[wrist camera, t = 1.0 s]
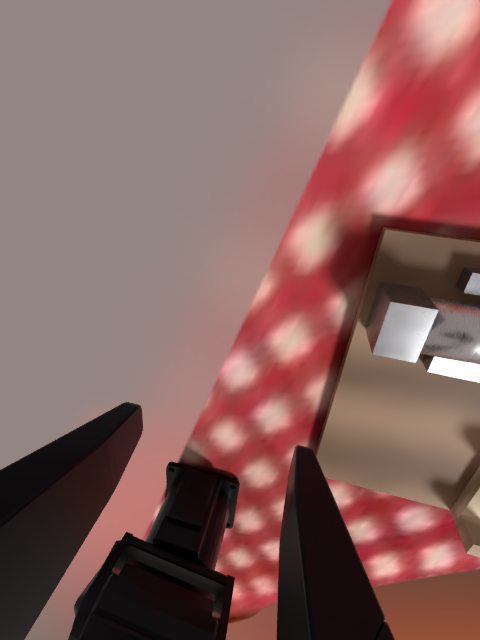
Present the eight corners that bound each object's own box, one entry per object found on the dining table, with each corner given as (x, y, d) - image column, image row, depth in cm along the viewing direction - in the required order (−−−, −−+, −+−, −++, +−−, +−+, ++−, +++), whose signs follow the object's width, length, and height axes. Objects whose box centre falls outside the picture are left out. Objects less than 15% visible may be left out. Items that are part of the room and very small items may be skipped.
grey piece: (365, 328, 18) (372, 354, 15) (380, 281, 16) (390, 301, 14) (522, 357, 16) (558, 391, 14) (552, 309, 15) (597, 337, 13)
